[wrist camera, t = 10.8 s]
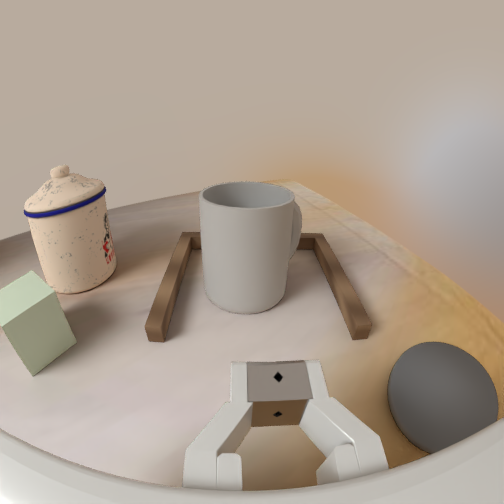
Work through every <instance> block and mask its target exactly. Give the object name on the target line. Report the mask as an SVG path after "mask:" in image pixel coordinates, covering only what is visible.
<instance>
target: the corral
mask: <svg viewBox="0 0 504 504" xmlns="http://www.w3.org/2000/svg"><path fill="white" fill-rule="evenodd" d="M192 249H201V232H182V235H181V237H180V239H179V241H178V244H177V246H176V248H175V251H174V253H173V255H172V258H171V260H170V263H169V265H168V267H167V270H166V272H165V275H164V277H163V280H162V282H161V285H160V287H159V290H158V292H157V295H156V297H155V300H154V303H153V305H152V308H151V311H150V313H149V316H148V319H147V321H146V324H145V330H146V333H147V337H148V340H149V341H153V342H164V341H165V337H166V334H167V330H168V326H169V323H170V319H171V316H172V312H173V309H174V305H175V302H176V298H177V295H178V292H179V288H180V285H181V282H182V278H183V275H184V272H185V269H186V265H187V262H188V259H189V256H190V253H191V250H192ZM296 249H313V250H314V252H315V254H316V256H317V258H318V261H319V263H320V265H321V267H322V269H323V271H324V274H325V276H326V278H327V280H328V283H329V285H330V287H331V289H332V292H333V294H334V296H335V299H336V301H337V303H338V306H339V308H340V310H341V313H342V315H343V317H344V320H345V322H346V325H347V327H348V329H349V332H350V334H351V337H352V339H353V340H358V339H367V337H368V334H369V331H370V329H371V326H372V323H371V321H370V319H369V317H368V315H367V313H366V311H365V309H364V308H363V306H362V304H361V302H360V300H359V298H358V296H357V294H356V292H355V291H354V289H353V287H352V285H351V283H350V281H349V279H348V278H347V276H346V274H345V272H344V270H343V269H342V267H341V265H340V263H339V262H338V260H337V258H336V256H335V255H334V253H333V251H332V249H331V248H330V246H329V244H328V242H327V241H326V239H325V237H324V236H323V234H316V233H301V235H300V240H299V244H298V246H297V248H296Z"/></svg>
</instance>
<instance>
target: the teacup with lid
mask: <svg viewBox="0 0 504 504" xmlns="http://www.w3.org/2000/svg"><path fill="white" fill-rule="evenodd" d="M51 177H52V179H50V180H48V181H47V182H45V183H44V184H43V185H42V186H41V188H40V189H39V190H38V192H36V193H35V194H34V195H32V196H31V197H30V198H29V199H28V200H27V201H26V203H25V206H24V214H25V215H26V216H27V217H28V221H29V226H30V230H31V234H32V237H33V241H34V244H35V248H36V251H37V254H38V258H39V261H40V264H41V267H42V270H43V273H44V276H45V278H46V281H47V284H48V285H49V286H50V287H51V288H52V289H53V290H54V291H56V292H59V293H65V294H73V293H79V292H83V291H87V290H89V289H92V288H94V287H96V286H98V285H100V284H101V283H103V282H104V281H105V280H107V279H108V278H109V277H110V276H111V275H112V273H113V272H114V270H115V268H116V256H115V252H114V247H113V242H112V237H111V232H110V226H109V221H108V215H107V209H106V202H105V195H104V194H105V192H106V187H105V186H104V184H103V182H102V181H100V180H98V179H89V178H86V177H83V176H81V175H79V174H74V173H72V174H69V167H68V166H67V165H61V166H57V167H55V168H52V170H51Z"/></svg>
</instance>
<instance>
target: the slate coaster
mask: <svg viewBox="0 0 504 504" xmlns="http://www.w3.org/2000/svg"><path fill="white" fill-rule="evenodd" d="M388 401H389V405H390V409H391V412H392V415H393V418H394V420H395V421H396V423H397V425H398V427H399V428H400V430H401V431H402V433H403V434H404V435H405V436H406V437H407V438H408V440H409V441H411V442H412V443H413V444H414V445H415V446H416V447H418V448H420V449H422V450H423V451H426V452H428V453H430V454H433V453H435V452H438V451H440V450H442V449H444V448H447V447H449V446H451V445H453V444H455V443H457V442H459V441H461V440H464V439H465V438H467V437H469V436H471V435H473V434H475V433H477V432H479V431H481V430H482V429H484V428H486V427H488V426H489V425H491V424H493V423H494V422H496V421H497V416H498V397H497V393H496V389H495V386H494V384H493V382H492V380H491V378H490V376H489V374H488V373H487V371H486V370H485V369H484V367H483V366H482V365H481V364H480V363H479V362H478V361H477V360H476V359H475V358H474V357H472V356H471V355H470V354H468V353H467V352H465V351H464V350H462V349H460V348H458V347H455V346H453V345H449V344H446V343H441V342H426V343H421V344H418V345H415V346H413V347H411V348H409V349H408V350H407V351H405V352H404V353H403V354H402V355H401V357H400V358H399V359H398V361H397V362H396V364H395V365H394V367H393V369H392V371H391V374H390V377H389V382H388Z"/></svg>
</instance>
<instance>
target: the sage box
mask: <svg viewBox="0 0 504 504" xmlns="http://www.w3.org/2000/svg"><path fill="white" fill-rule="evenodd" d="M0 325H1V327H2V328H3V330H4V332H5V334H6V336H7V337H8V339H9V341H10V342H11V344H12V346H13V347H14V349H15V351H16V352H17V354H18V355H19V357H20V358H21V360H22V361H23V363H24V364H25V366H26V367H27V369H28V370H29V372H30V373H31V375H32V376H34V375H36V374H37V373H38V372H39V371H41V370H42V369H43V368H44V367H46V366H47V365H48V364H49V363H51V362H52V361H53V360H55V359H56V358H57V357H58V356H60V355H61V354H62V353H64V352H65V351H66V350H67V349H69V348H70V347H71V346H73V345H74V344H75V343H77V341H76V339H75V337H74V335H73V332H72V330H71V328H70V326H69V324H68V322H67V319H66V317H65V315H64V312H63V310H62V308H61V305H60V303H59V300H58V298H57V295H56V293H55V291H54V290H53V289H52V288H51V287H50V286H49V285H48V284H46V283H45V282H44V281H43V280H42V279H41V278H40V277H39V276H38V275H37V274H36V273H35V272H34V271H33V270H32V271H30V272H28V273H27V274H25V275H23V276H21V277H20V278H18V279H17V280H15V281H13V282H12V283H10V284H8V285H7V286H5V287H4V288H2V289H1V290H0Z"/></svg>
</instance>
